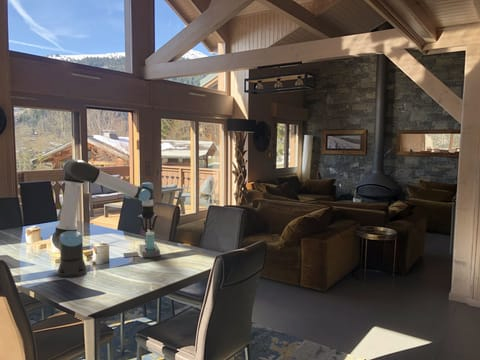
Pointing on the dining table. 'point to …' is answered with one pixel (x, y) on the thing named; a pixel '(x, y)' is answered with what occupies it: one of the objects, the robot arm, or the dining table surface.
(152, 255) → the housing
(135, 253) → the mat
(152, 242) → the cartridge
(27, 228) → the dining table surface
